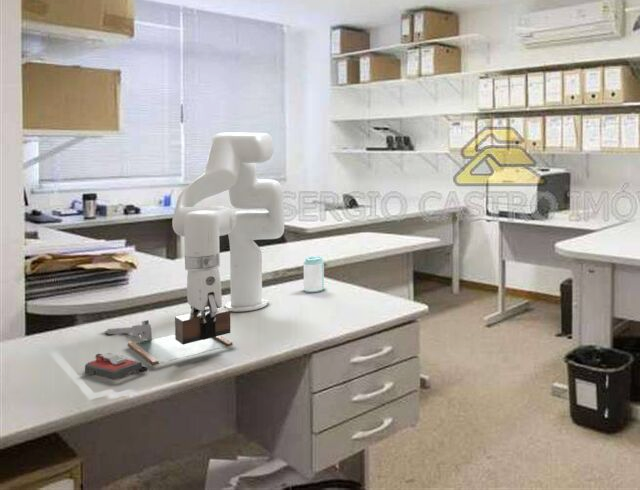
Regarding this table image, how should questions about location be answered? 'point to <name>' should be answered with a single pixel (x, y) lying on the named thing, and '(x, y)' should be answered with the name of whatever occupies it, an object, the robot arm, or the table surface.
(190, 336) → the eraser
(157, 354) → the chalkboard
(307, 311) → the table surface
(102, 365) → the toy chainsaw
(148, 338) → the caliper
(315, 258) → the can
